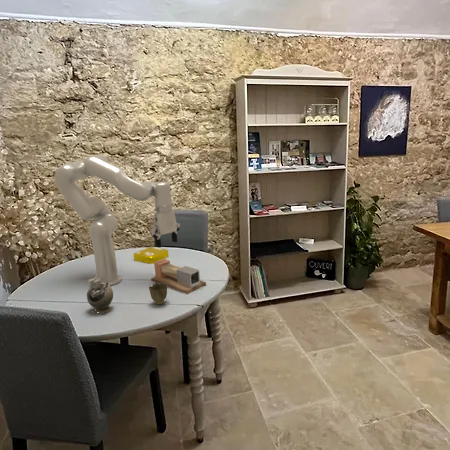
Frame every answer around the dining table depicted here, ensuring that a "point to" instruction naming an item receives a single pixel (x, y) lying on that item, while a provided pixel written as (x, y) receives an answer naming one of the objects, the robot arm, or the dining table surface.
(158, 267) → the terracotta socket
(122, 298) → the dining table surface
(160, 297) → the cup
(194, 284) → the metal sleeve
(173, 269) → the tube
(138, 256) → the element tile
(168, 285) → the walnut board
